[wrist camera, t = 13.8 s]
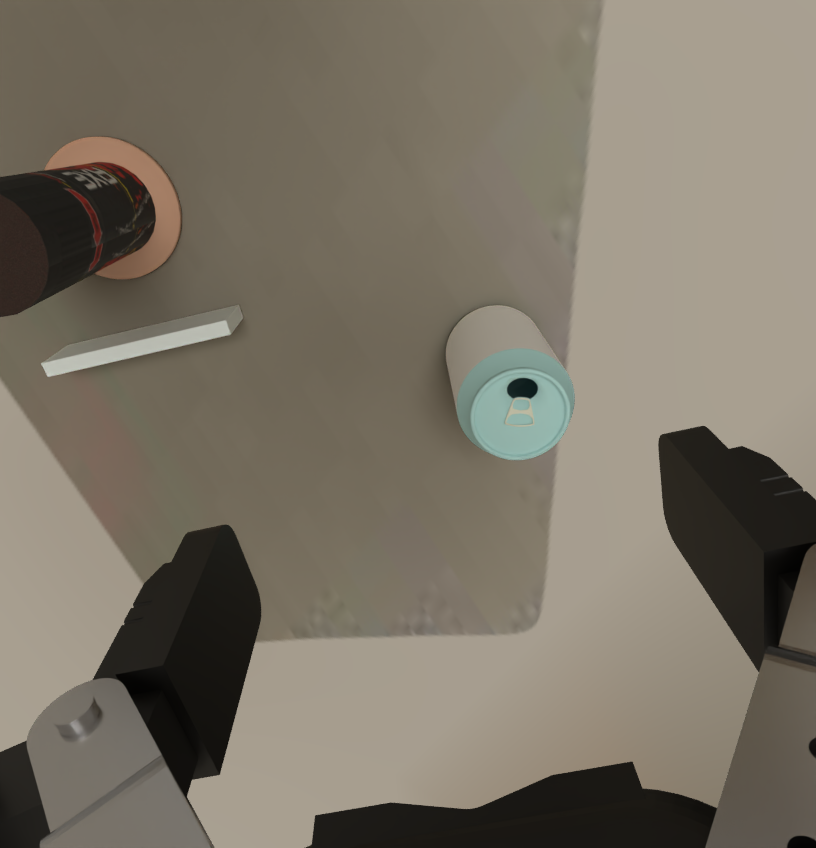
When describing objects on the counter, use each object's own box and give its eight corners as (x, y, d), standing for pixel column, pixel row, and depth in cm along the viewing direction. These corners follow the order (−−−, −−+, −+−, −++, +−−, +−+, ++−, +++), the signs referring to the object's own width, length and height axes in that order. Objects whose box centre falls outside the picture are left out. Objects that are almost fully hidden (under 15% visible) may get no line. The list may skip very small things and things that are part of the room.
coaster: (19, 155, 43) (14, 156, 42) (151, 120, 42) (147, 121, 42) (79, 290, 47) (75, 292, 46) (201, 260, 46) (199, 262, 45)
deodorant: (158, 173, 43) (48, 200, 29) (153, 264, 45) (49, 328, 32) (64, 151, 42) (-94, 169, 29) (63, 245, 45) (-82, 302, 31)
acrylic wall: (67, 344, 48) (41, 363, 45) (238, 304, 47) (225, 320, 44) (73, 357, 49) (47, 377, 45) (243, 317, 48) (230, 334, 44)
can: (426, 339, 48) (435, 403, 38) (508, 283, 47) (542, 334, 36) (478, 410, 51) (500, 491, 40) (558, 360, 49) (604, 429, 38)
